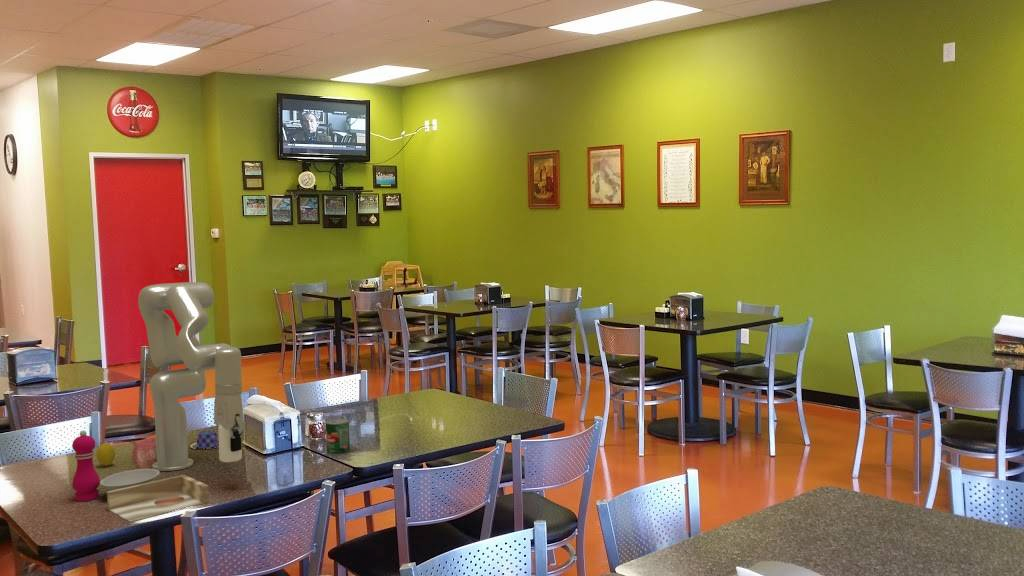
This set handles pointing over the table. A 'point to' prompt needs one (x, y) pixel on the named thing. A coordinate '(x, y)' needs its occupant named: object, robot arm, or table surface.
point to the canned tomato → (337, 436)
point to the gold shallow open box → (157, 497)
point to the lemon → (105, 454)
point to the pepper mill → (85, 469)
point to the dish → (129, 478)
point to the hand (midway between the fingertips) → (230, 447)
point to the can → (227, 446)
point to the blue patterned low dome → (206, 440)
